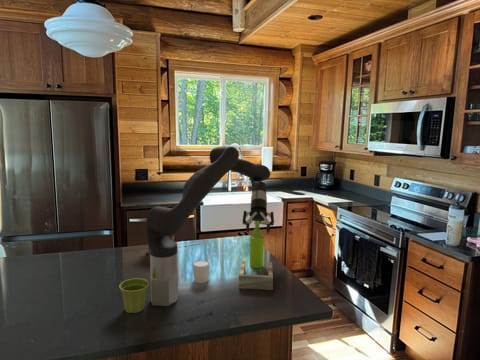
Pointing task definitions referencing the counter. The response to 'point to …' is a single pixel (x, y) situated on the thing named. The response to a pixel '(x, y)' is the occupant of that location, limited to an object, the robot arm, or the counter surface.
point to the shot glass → (201, 271)
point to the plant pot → (134, 294)
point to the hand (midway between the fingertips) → (257, 232)
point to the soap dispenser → (256, 247)
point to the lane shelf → (256, 279)
